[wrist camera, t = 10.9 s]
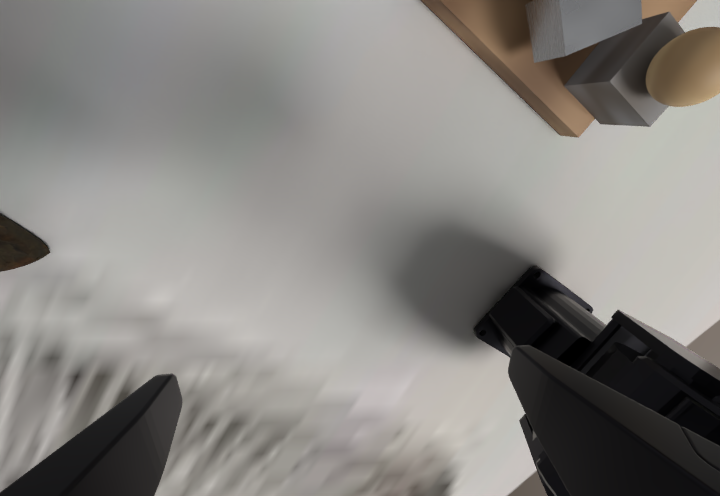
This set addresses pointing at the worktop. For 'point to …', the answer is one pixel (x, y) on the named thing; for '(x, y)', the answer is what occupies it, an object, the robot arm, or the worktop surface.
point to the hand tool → (18, 246)
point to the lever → (577, 24)
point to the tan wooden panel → (594, 63)
